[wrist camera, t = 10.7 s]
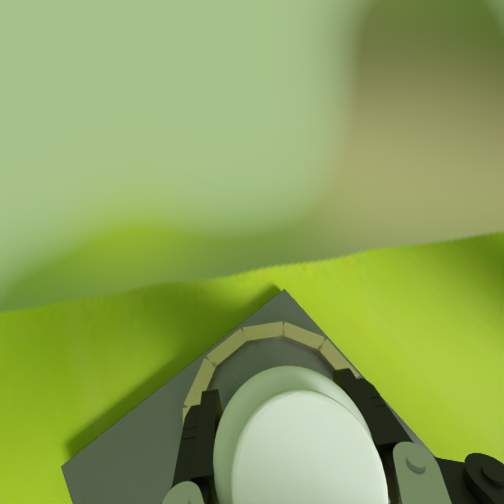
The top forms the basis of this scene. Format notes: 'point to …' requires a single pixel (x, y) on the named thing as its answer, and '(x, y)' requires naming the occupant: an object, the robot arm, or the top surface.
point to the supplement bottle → (295, 444)
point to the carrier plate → (188, 394)
